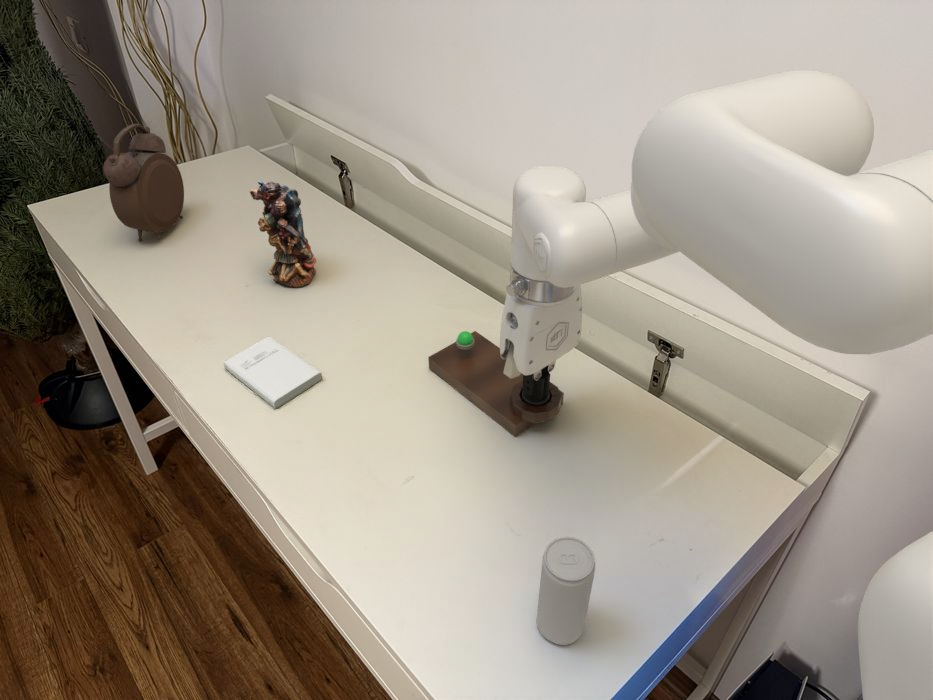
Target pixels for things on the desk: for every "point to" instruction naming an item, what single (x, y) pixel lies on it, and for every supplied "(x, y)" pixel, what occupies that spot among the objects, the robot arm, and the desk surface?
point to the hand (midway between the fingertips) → (535, 392)
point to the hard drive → (273, 371)
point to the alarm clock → (144, 183)
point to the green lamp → (465, 340)
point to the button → (534, 400)
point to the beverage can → (565, 590)
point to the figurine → (285, 234)
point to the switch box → (492, 385)
